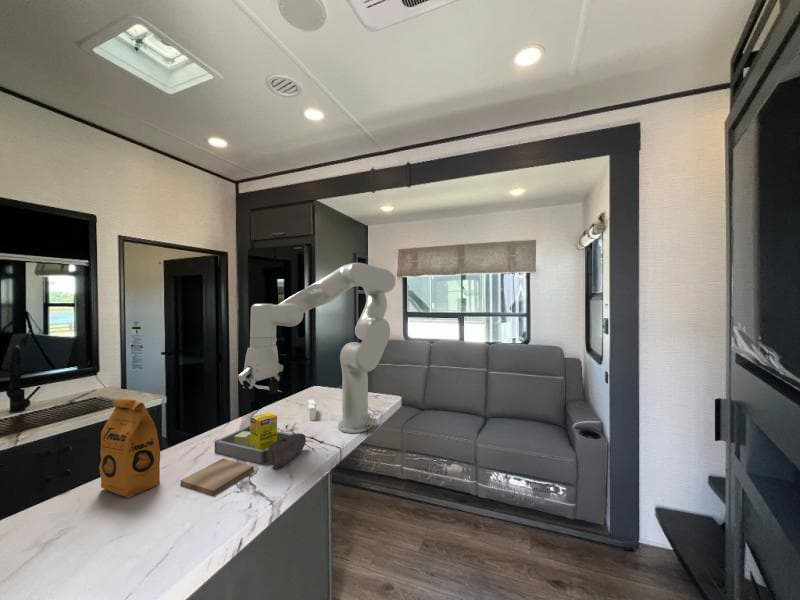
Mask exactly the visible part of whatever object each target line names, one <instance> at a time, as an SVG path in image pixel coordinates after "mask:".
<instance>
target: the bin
mask: <svg viewBox="0 0 800 600" xmlns="http://www.w3.org/2000/svg"><path fill="white" fill-rule="evenodd" d="M242 431H246V432H250V425H247V426H245V427H243V428H241V429H238V430H236V431H234V432H232V433H230V434H228V435H226V436H222V437H220V438H219V439H216V440H214V453H215V454H220V455H223V456H224V455H225V456H229V457H232V458H236V459H240V460H243V459H244V460H243V461H247V462H253V463H256V464H261V465H265V464H266V463H269V462H271V459H270V458H269V447H268V448H266V449H265V450H260V449H256V448H252V447H247V446H243V445H238V444H234V436H235V435H237V434H239V433H241V432H242ZM293 434H294V433H289V432H283V431H279V430H277V440H280V439H282V438H284V437H287V436H290V435H293Z"/></svg>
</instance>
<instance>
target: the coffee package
mask: <svg viewBox="0 0 800 600" xmlns="http://www.w3.org/2000/svg"><path fill="white" fill-rule="evenodd" d="M112 406H113V407H115V408H114V410H112V411H113V412H112V413H111V414H110V416H109V418H108V420H107V421H106V422H105V424H104V426H103V428H102V430H101V431H100V453H99V454H100V463H99V467H98V470H99V475H100V487H101V489H104V490H107V491H109V492H111V493H114V494H116V495H118V496H121V497H126V498H129V499H130V498H132V497H134V496H135V495H138V494H141V493H143V492H144V491H146V490H149V489H151V488H154V487H156V486H157V485H160V483H161V482H160V481H161V480H160V478H161V477H160V476H161V475H160V473H161V472H160V468H161V467H160V463H161V450H160V442H159V437H158V436H159V435H158V430H157V427H156V424H155V422H154V420H153V418H152V417H151V415H150V412H149V411H148V409H147V408H146V406H145V403H143V402H140V401H138V400H137V399H128V398H127V399H126V398H120V397H118V398H116V399H115V400H113V401H112Z"/></svg>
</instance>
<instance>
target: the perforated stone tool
mask: <svg viewBox="0 0 800 600" xmlns="http://www.w3.org/2000/svg"><path fill="white" fill-rule="evenodd" d="M292 434H293V435H290V436H287V437H284V438H282V439H280V440H277V441H276V442H274V443H272V444H271V445H269V458H270V459H271V460H270V466H272V467H274V468H275V469H277V468H280V467H283V466H286V464H287V463H289V462H291V461H292V460H293V459H295V458H296V457H297V456H298V455H299V454H300V453H301V452H302V451H303V449H304V448H305V445H306V441H307V439H306V438H307V437H306V436H305V434H303V433H292Z"/></svg>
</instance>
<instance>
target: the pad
mask: <svg viewBox="0 0 800 600" xmlns="http://www.w3.org/2000/svg"><path fill="white" fill-rule="evenodd" d="M254 467H255V466H253V465H251V464H246V463H241V462H239V461H234V460H230V459H226V458H221V459H219V460H217V461H215V462H213V463H211V464H209V465H208V466H205V467H203V468H202V469H200V470H198V471H195V472H194V473H192V474H190V475H188V476H186V477H185V478H182V479H181V480H180V486H183V487H185V488H189V489H192V490H195V491H198V492H200V493H203V494H207V495H211V496H213V497H214V496H215V495H217V494H219V493H220V492H222V491H224V490H225V489H226V488H228V487H229V486H232V485H233V484H234V483H236V482H238V481H239V480H241V479H242V478H244V477H246V476H247V475H249V474H251V473H252V472H254V470H255V469H254Z"/></svg>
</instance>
